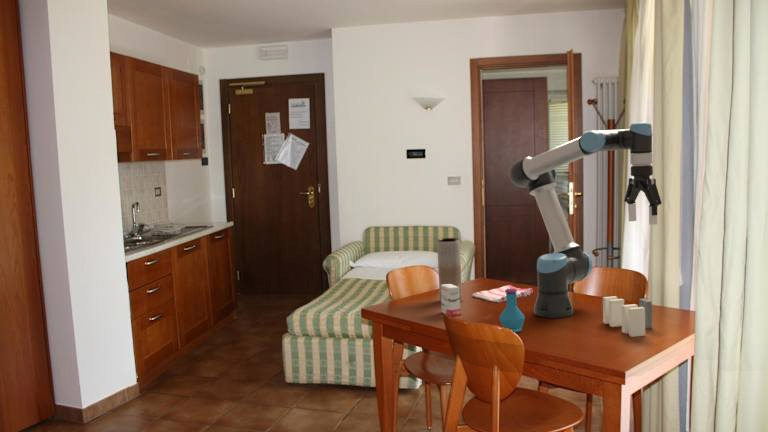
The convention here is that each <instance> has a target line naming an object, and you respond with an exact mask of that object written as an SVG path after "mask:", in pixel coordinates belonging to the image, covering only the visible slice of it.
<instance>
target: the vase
mask: <svg viewBox="0 0 768 432" xmlns="http://www.w3.org/2000/svg"><path fill="white" fill-rule="evenodd" d="M460 241H461V240H460V239H459V238H458V237H457V238H455V237H451V238H450V237H447V238H446V237H445V238H439V239H437V240H436V244H437V246H436V247H437V269H438V286H439V287H438V288H439V302H440V303H441V285H443V284H452V285H455V286H457V287H459V293H460V303H462V302H463V289H462V287H463V286H462V285H463V283H462V268H461V267H462V266H461V264H462V263H461V262H462V261H461V243H460Z"/></svg>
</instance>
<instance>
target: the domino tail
mask: <svg viewBox="0 0 768 432" xmlns="http://www.w3.org/2000/svg"><path fill="white" fill-rule="evenodd" d="M628 336H629V337H630V338H633V337H643V336H646V328H645V308H644V307H639V306H638V307H635V308H629V333H628Z"/></svg>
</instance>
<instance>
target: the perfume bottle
mask: <svg viewBox="0 0 768 432" xmlns="http://www.w3.org/2000/svg"><path fill="white" fill-rule="evenodd" d="M505 292H506V298H507V301H506V307H505V308H504V310H503V311H502V312H501V314H500V316H499V318H498V319H499V321H500V324H501V326H502V327H503V328H504V327H506V328H509V329H512V330H513V331H514V332H513V333H515V332H516V333H517V332H521V331H522V328H523V327H524V323H525V319H526V316H525V315H524V313H523V312H522V311H521V310H520V309H519V307H518V306H517V298H516V294H517V293H516V292H517V290H516V289H512V288H511V289H506V290H505Z"/></svg>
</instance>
